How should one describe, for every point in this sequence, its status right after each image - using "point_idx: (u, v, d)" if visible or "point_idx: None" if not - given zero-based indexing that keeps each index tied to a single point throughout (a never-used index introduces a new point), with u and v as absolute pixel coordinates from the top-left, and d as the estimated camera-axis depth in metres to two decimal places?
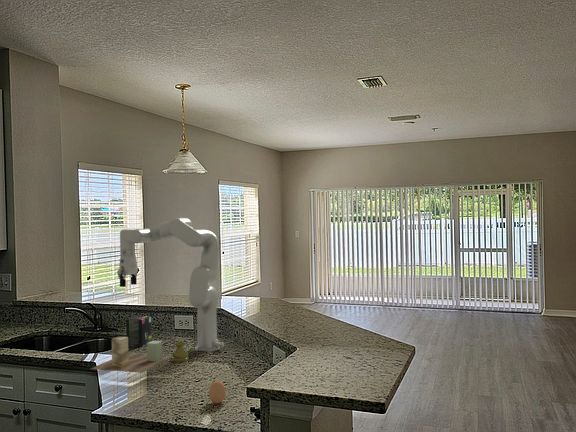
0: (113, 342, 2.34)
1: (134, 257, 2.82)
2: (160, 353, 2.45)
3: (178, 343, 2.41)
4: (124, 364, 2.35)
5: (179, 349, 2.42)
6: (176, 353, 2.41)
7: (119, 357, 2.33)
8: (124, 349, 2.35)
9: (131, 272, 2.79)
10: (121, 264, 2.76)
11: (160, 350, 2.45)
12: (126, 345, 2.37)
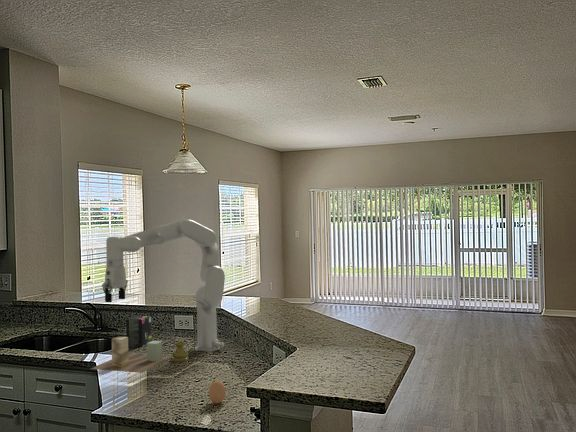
0: (113, 342, 2.34)
1: (122, 268, 2.48)
2: (160, 353, 2.45)
3: (178, 343, 2.41)
4: (124, 364, 2.35)
5: (179, 349, 2.42)
6: (176, 353, 2.41)
7: (119, 357, 2.33)
8: (124, 349, 2.35)
9: (118, 285, 2.45)
10: (107, 276, 2.42)
11: (160, 350, 2.45)
12: (126, 345, 2.37)
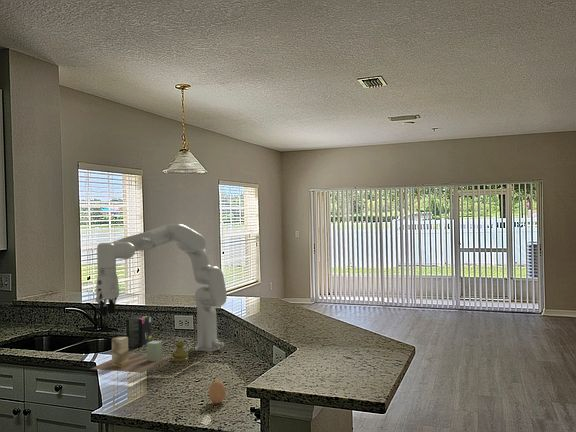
0: (113, 342, 2.34)
1: (115, 277, 2.29)
2: (160, 353, 2.45)
3: (178, 343, 2.41)
4: (124, 364, 2.35)
5: (179, 349, 2.42)
6: (176, 353, 2.41)
7: (119, 357, 2.33)
8: (124, 349, 2.35)
9: (111, 296, 2.26)
10: (98, 286, 2.24)
11: (160, 350, 2.45)
12: (126, 345, 2.37)
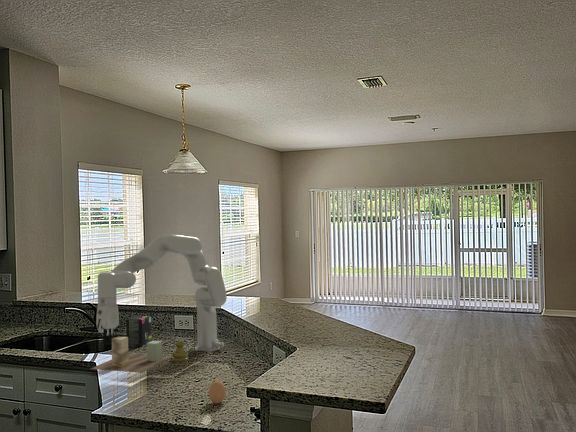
0: (113, 342, 2.34)
1: (115, 306, 2.29)
2: (160, 353, 2.45)
3: (178, 343, 2.41)
4: (124, 364, 2.35)
5: (179, 349, 2.42)
6: (176, 353, 2.41)
7: (119, 357, 2.33)
8: (124, 349, 2.35)
9: (111, 325, 2.26)
10: (98, 316, 2.23)
11: (160, 350, 2.45)
12: (126, 345, 2.37)
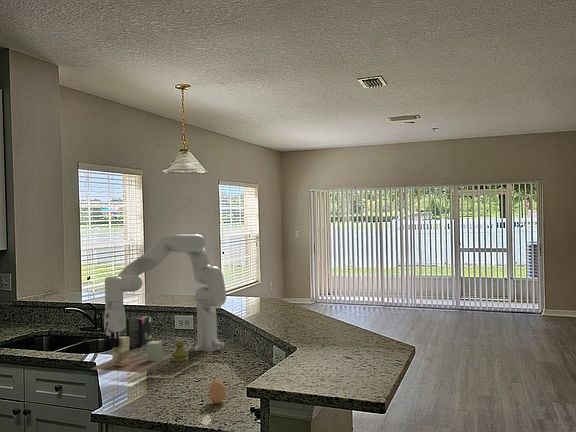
0: None
1: (122, 310, 2.34)
2: (160, 353, 2.45)
3: (178, 343, 2.41)
4: (124, 363, 2.35)
5: (179, 349, 2.42)
6: (176, 353, 2.41)
7: (119, 356, 2.34)
8: (125, 349, 2.36)
9: (118, 328, 2.31)
10: (106, 319, 2.28)
11: (160, 350, 2.45)
12: (127, 344, 2.37)
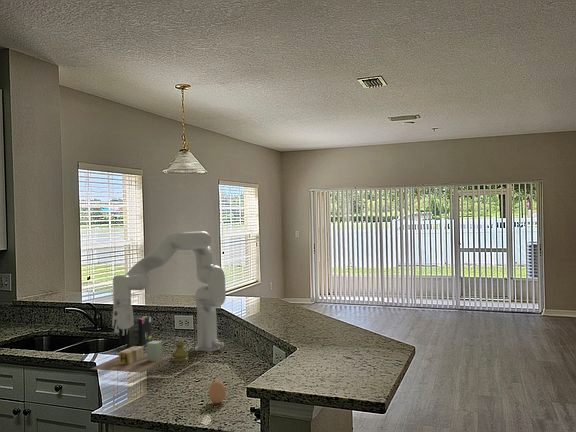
0: (134, 346, 2.49)
1: (130, 307, 2.40)
2: (160, 353, 2.45)
3: (178, 343, 2.41)
4: (129, 356, 2.38)
5: (179, 349, 2.42)
6: (176, 353, 2.41)
7: (131, 350, 2.42)
8: (137, 353, 2.45)
9: (126, 326, 2.36)
10: (114, 317, 2.34)
11: (160, 350, 2.45)
12: (139, 356, 2.46)
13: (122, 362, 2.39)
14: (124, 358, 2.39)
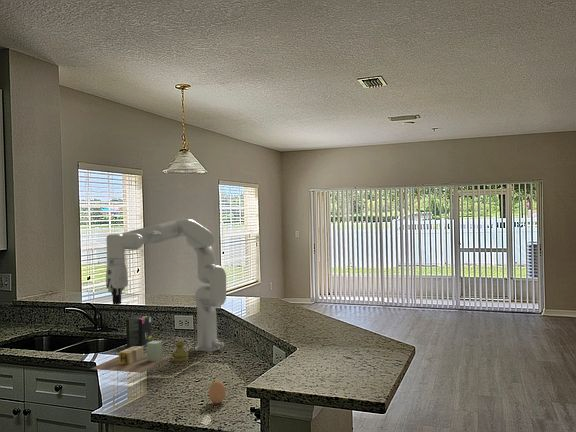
0: (134, 346, 2.49)
1: (124, 267, 2.36)
2: (160, 353, 2.45)
3: (178, 343, 2.41)
4: (129, 356, 2.38)
5: (179, 349, 2.42)
6: (176, 353, 2.41)
7: (131, 350, 2.42)
8: (137, 353, 2.45)
9: (120, 285, 2.33)
10: (108, 276, 2.30)
11: (160, 350, 2.45)
12: (139, 356, 2.46)
13: (122, 362, 2.39)
14: (124, 358, 2.39)
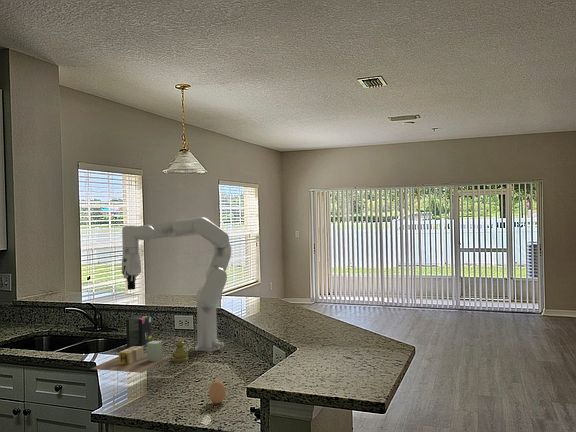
0: (134, 346, 2.49)
1: (138, 256, 2.59)
2: (160, 353, 2.45)
3: (178, 343, 2.41)
4: (129, 356, 2.38)
5: (179, 349, 2.42)
6: (176, 353, 2.41)
7: (131, 350, 2.42)
8: (137, 353, 2.45)
9: (134, 272, 2.56)
10: (123, 263, 2.53)
11: (160, 350, 2.45)
12: (139, 356, 2.46)
13: (122, 362, 2.39)
14: (124, 358, 2.39)
